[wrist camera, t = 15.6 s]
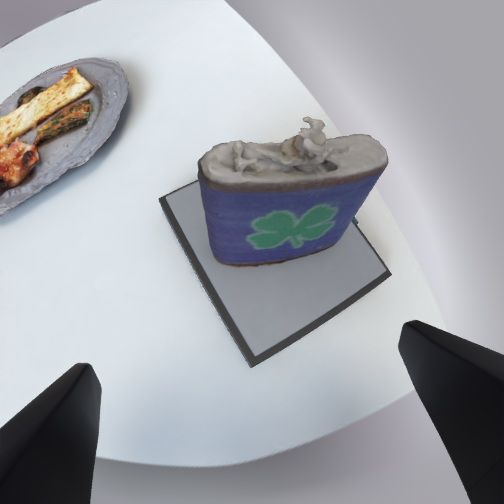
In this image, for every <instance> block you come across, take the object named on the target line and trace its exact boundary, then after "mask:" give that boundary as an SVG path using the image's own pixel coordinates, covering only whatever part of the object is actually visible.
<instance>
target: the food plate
mask: <svg viewBox="0 0 504 504" xmlns="http://www.w3.org/2000/svg"><path fill="white" fill-rule="evenodd" d="M55 67H56V66H55ZM55 67H53V68H54V69H53V68H51V69H52V70H51V69H48V70H47V71H48V72H47V71H45V72H46V73H45V72H43V73H44V74H43V73H41V74H40V75H41V76H40V75H38V76H36V77H35V78H33V79H32V80H31V81H29V82H27V83H26V84H25V85H23V86H22V87H23V88H22V87H21V88H22V89H21V88H19V89H20V90H19V89H18V90H17V91H15V92H16V93H15V92H14V93H13V94H12V96H9V97H8V98H7V99H6V100H5V101H3V103H2V104H1V105H0V216H1V215H3V214H5V212H6V211H8V210H9V209H11V208H14V207H15V206H17V205H18V204H19V203H21V202H23V201H24V200H26V199H28V198H30V197H31V196H33V195H35V194H36V193H38V192H39V191H41V190H42V189H43V187H44V186H46V185H49V184H50V183H52V182H53V181H55V180H58V178H59V177H60V176H61V175H62V174H64V173H65V172H66V171H67V169H71V168H74V166H75V165H76V164H78V163H79V164H78V165H76V166H75V167H77V166H80V165H83V164H85V163H86V162H87V161H88V160H89V159H90V158H91V157H92V156H93V155H94V153H95V152H96V151H97V150H99V149H100V147H101V146H102V145H103V143H105V142H106V141H107V139H108V138H109V137H110V135H111V134H112V132H113V131H114V129H115V127H116V124H117V122H118V120H119V118H120V116H119V115H120V112H121V110H122V108H123V105H124V104H125V102H126V101H127V100H126V98H127V95H128V85H129V82H128V81H127V79H128V78H127V76H126V75H125V73H124V71H123V70H122V68H121V67H120V65H119V64H118V62H115V61H111V60H107V59H104V58H84V59H79V60H75V61H73V62H70V63H67V64H63V65H60V66H59V65H58V67H56V68H55ZM49 70H50V71H49ZM42 74H43V75H42ZM8 212H10V211H8ZM6 213H7V212H6Z"/></svg>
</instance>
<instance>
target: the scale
mask: <svg viewBox="0 0 504 504" xmlns="http://www.w3.org/2000/svg"><path fill="white" fill-rule="evenodd" d="M159 202H160V204H161V207H162V209H163V212H164V213H165V215H166V217H167V219H168V221H169V223H170V225H171V227H172V229H173V231H174V233H175V235H176V237H177V239H178V241H179V243H180V244H181V246H182V248H183V250H184V252H185V254H186V256H187V258H188V259H189V261H190V263H191V265H192V267H193V269H194V271H195V272H196V274H197V276H198V278H199V280H200V282H201V283H202V285H203V287H204V289H205V291H206V292H207V294H208V296H209V298H210V299H211V301H212V303H213V305H214V306H215V308H216V310H217V312H218V313H219V315H220V317H221V319H222V320H223V322H224V324H225V326H226V327H227V329H228V331H229V332H230V334H231V336H232V337H233V339H234V341H235V343H236V344H237V346H238V348H239V349H240V351H241V353H242V354H243V356H244V358H245V359H246V361H247V362H248V364H249V366H250V367H251V368H252V367H254V366H256V365H257V364H259V363H261V362H263V361H264V360H266V359H268V358H269V357H271V356H273V355H274V354H276V353H278V352H279V351H281V350H283V349H284V348H286V347H287V346H289V345H291V344H292V343H294V342H295V341H297V340H299V339H300V338H302V337H303V336H305V335H307V334H308V333H310V332H311V331H313V330H314V329H316V328H317V327H319V326H320V325H322V324H323V323H325V322H326V321H328V320H329V319H331V318H332V317H334V316H335V315H337V314H338V313H340V312H341V311H343V310H344V309H346V308H347V307H348V306H350V305H351V304H353V303H354V302H356V301H357V300H358V299H360V298H361V297H363V296H364V295H365V294H367V293H368V292H370V291H371V290H372V289H374V288H375V287H376V286H378V285H379V284H381V283H382V282H383V281H385V280H386V279H387V278H389V277H390V276H391V275H392V274H391V272H390V271H389V269H388V268H387V266H386V265H385V264H384V262H383V261H382V259H381V258H380V256H379V255H378V254H377V252H376V251H375V249H374V248H373V247H372V245H371V244H370V242H369V241H368V240H367V238H366V237H365V236H364V234H363V233H362V232H361V230H360V229H359V228H358V226H357V224H358V221H357V220H356V219H355V217H354V218H353V219H352V221H351V222H350V224H349V226H348V228H347V229H346V231H345V232H344V234H343V236H342V237H341V239H340V240H339V241H338V242H337V243H336V244H335V245H334V246H332V247H330V248H328V249H326V250H324V251H321V252H318V253H315V254H312V255H307V256H306V257H301V258H298V259H294V260H288V261H285V262H284V263H281V264H273V265H269V266H267V265H266V266H258V267H240V268H238V267H231V266H224V265H222V264H219V263H218V262H217V261H216V259H215V258H214V257H213V253H212V250H211V248H210V244H209V237H208V230H207V225H206V219H205V211H204V208H203V204H202V198H201V191H200V185H199V180H196V181H194V182H192V183H190V184H188V185H186V186H183V187H181V188H179V189H177V190H175V191H173V192H171V193H169V194H167V195H165V196H163V197H161V198H159Z"/></svg>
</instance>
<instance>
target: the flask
mask: <svg viewBox="0 0 504 504" xmlns="http://www.w3.org/2000/svg"><path fill="white" fill-rule="evenodd" d="M303 121H304V122H307V123H309V124H310V126H311V128H310V129H308V128H300V129H301V133H298V134H299V135H296V136H294V137H292V138H290V139H289V140H287V139H286V140H285V141H284V142H283V143H266V144H258V143H252V142H250V143H244V142H242V141H232V142H229V143H221V144H218V145H216V146H213V148H212V150H210V151H208V152H206V153H205V155H204V156H203V157H202V158H200V159H199V161H198V169H199V171H198V179H199V185H200V191H201V198H202V204H203V208H204V211H205V219H206V225H207V230H208V237H209V244H210V248H211V250H212V253H213V257H214V258H215V259H216V261H217V262H218V263H219V264H222V265H224V266H231V267H238V268H240V267H258V266H266V265H267V266H269V265H273V264H281V263H284V262H285V261H288V260H294V259H298V258H301V257H306V256H307V255H312V254H315V253H318V252H321V251H324V250H326V249H328V248H330V247H332V246H334V245H335V244H336V243H337V242H338V241H339V240H340V239H341V237H342V236H343V234H344V232H345V231H346V229H347V228H348V226H349V224H350V222H351V221H352V219H353V218H354V216H355V214H356V213H357V211H358V210H359V208H360V207H361V206H362V204H363V202H364V201H365V199H366V198H367V196H368V194H369V192H370V191H371V190H372V188H373V187H374V185H375V183H376V182H377V180H378V178H379V177H380V175H381V174H382V173H383V171H384V170H385V168H386V167H387V164H388V156H387V153H386V149H385V148H384V147H383V146H382V145H381V144H380V143H379V142H378V141H377V140H375V139H373V138H372V137H371V136H370V135H364V134H354V135H350V136H343V137H337V138H334V139H326V137H325V134H324V133H323V132H322V131H321V130H322V129H323V128H324V127H325V124H324V123H323V121H322V120H315V119H311V118H310V117H305V118H303Z"/></svg>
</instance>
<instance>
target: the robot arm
mask: <svg viewBox="0 0 504 504" xmlns="http://www.w3.org/2000/svg"><path fill="white" fill-rule="evenodd" d="M398 348H399V352H400V355H401V357H402V359H403V361H404V364H405V366H406V368H407V371H408V373H409V375H410V378H411V380H412V383H413V385H414V387H415V389H416V391H417V393H418V395H419V397H420V399H421V401H422V403H423V405H424V406H425V408H426V410H427V412H428V414H429V416H430V418H431V420H432V422H433V423H434V426H435V427H436V429H437V431H438V433H439V435H440V437H441V439H442V441H443V443H444V445H445V447H446V449H447V451H448V453H449V455H450V457H451V460H452V462H453V464H454V466H455V468H456V470H457V472H458V474H459V477H460V479H461V481H462V483H463V485H464V488H465V490H466V492H467V495H468V497H469V500H470V502H471V504H504V355H502V354H500V353H498V352H495V351H493V350H490V349H488V348H485V347H483V346H480V345H478V344H475V343H473V342H470V341H468V340H466V339H463V338H460V337H458V336H456V335H453V334H451V333H448V332H446V331H443V330H441V329H438V328H436V327H433V326H431V325H428V324H426V323H423V322H421V321H418V320H413V321H409V322H406V323H404V325H403V327H402V331H401V336H400V340H399V344H398ZM101 393H102V388H101V384H100V382H99V380H98V378H97V376H96V374H95V372H94V369H93V367H92V366H91V365H90V364H89V363H77V364H75V365H74V366H73V367H71V368H70V369H69V370H68V371H67V372H65V373H64V374H63V375H62V376H61V377H60V378H58V379H57V380H56V381H55V382H54V383H52V384H51V385H50V386H49V387H48V388H47V389H45V390H44V391H43V392H42V393H41V394H39V395H38V396H37V397H36V398H35V399H34V400H32V401H31V402H30V403H29V404H28V405H27V406H25V407H24V408H23V409H22V410H21V411H20V412H19V413H17V414H16V415H15V416H14V417H13V418H12V419H10V420H9V421H8V422H7V423H6V424H5V425H4V426H2V427H1V428H0V504H90V499H91V489H92V479H93V471H94V463H95V456H96V449H97V443H98V436H99V420H100V405H101Z"/></svg>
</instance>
